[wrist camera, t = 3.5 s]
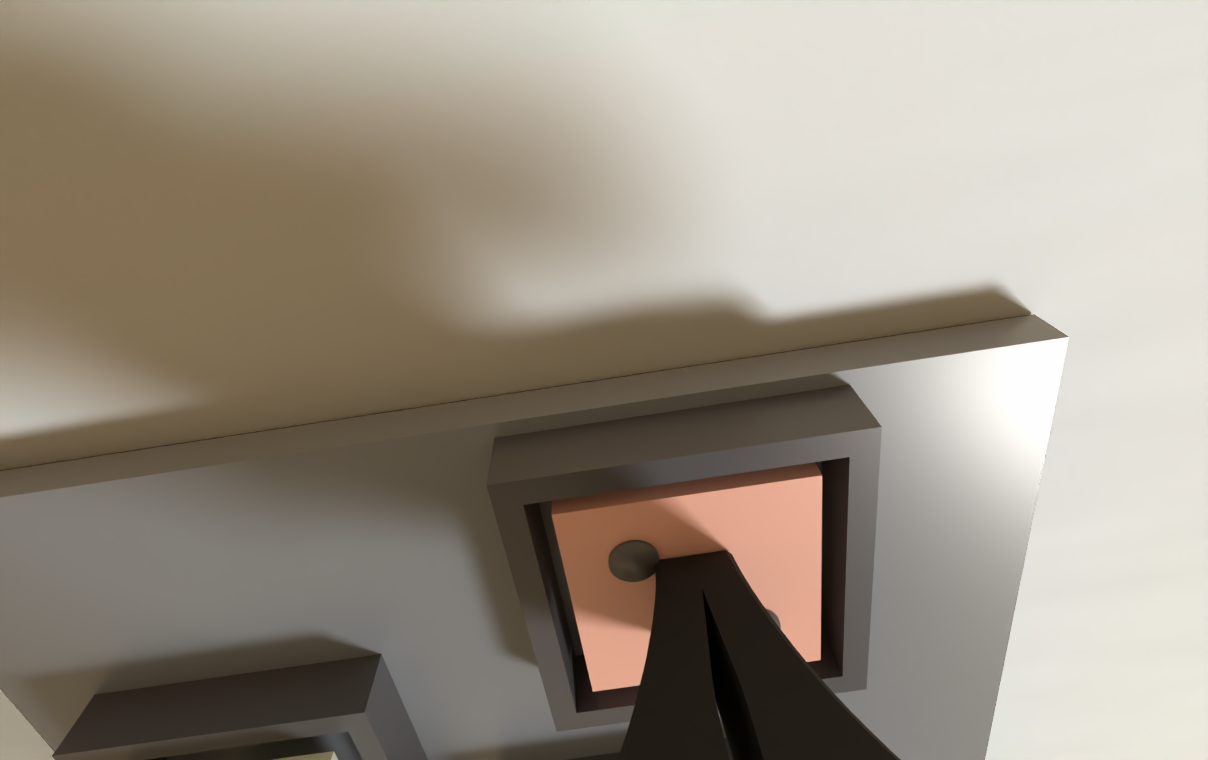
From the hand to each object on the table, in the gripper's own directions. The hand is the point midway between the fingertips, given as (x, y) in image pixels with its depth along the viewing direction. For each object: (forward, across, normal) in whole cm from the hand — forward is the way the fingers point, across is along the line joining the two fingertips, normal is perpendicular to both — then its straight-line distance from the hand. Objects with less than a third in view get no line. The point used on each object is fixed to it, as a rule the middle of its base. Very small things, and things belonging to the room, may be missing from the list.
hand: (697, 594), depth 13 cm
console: (+2, +4, +6) cm, 7 cm away
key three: (+1, 0, 0) cm, 1 cm away
